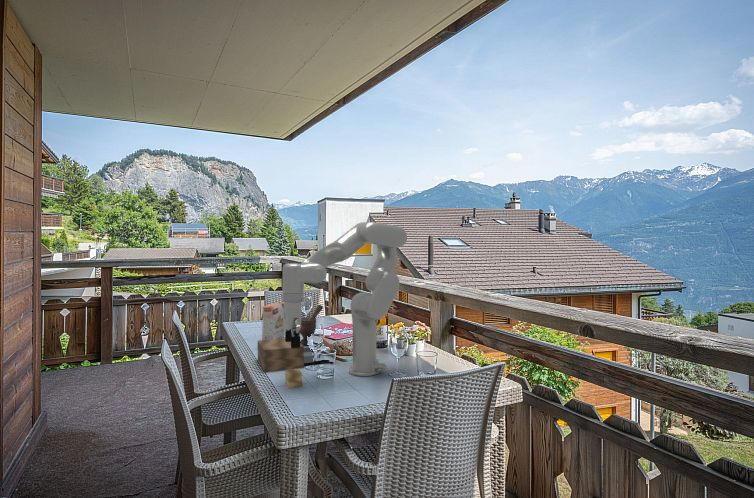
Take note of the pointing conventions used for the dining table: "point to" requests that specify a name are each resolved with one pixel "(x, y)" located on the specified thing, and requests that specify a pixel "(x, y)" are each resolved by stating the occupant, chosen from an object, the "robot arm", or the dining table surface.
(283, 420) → the dining table surface
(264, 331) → the cracker box
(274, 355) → the brown box
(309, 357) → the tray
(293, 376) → the block
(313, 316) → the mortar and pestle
